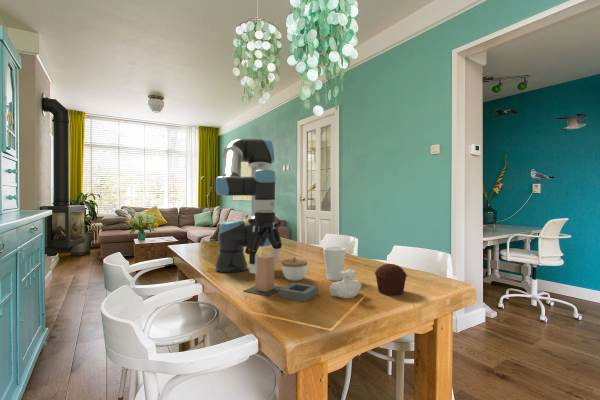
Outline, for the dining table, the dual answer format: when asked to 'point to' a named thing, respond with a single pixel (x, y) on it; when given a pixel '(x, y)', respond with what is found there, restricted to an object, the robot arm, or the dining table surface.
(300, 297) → the holder
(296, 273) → the lidded jar
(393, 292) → the muffin
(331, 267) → the foam cup
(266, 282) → the block
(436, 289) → the dining table surface
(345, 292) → the bust
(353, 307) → the dining table surface
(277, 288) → the mat
